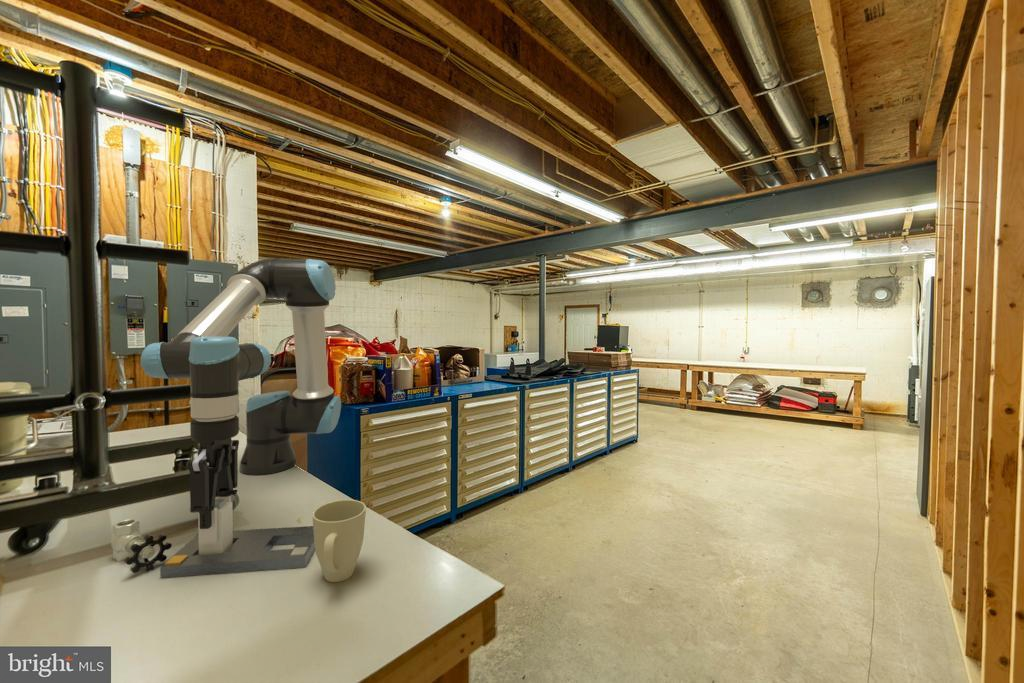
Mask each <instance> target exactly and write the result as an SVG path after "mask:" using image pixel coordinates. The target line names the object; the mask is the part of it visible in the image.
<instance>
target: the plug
mask: <svg viewBox="0 0 1024 683" xmlns="http://www.w3.org/2000/svg"><path fill="white" fill-rule="evenodd" d="M233 503H234V502H233V501H231V502H226V499H215V506H214V508H217V523H218V541H217V542H216V543H215V544H199V555H209V554H224V553H225V552H226V551H227V550H228V549H229V548H230V547H231V546H232V545H233V531H234V528H233V527H234V526H233V521H234V520H233V517H234V516H233V514H234V513H233V511H234V508H233V506H234V505H233ZM197 513H198V514H197V515H198V516H197V517H198V521H197V522H198V523H197V524H198V532H199V512H197Z"/></svg>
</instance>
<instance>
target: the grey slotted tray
mask: <svg viewBox="0 0 1024 683" xmlns="http://www.w3.org/2000/svg"><path fill="white" fill-rule="evenodd" d="M281 545H282V546H283V545H294V546H293V548H287V549H285V548H284V549H272V548H273V546H281ZM271 549H272V550H271ZM315 551H316V550H315V543H314V530H313V525H309V526H307V525H306V526H292V527H290V526H289V527H275V528H258V529H257V528H256V529H255V528H253V529H241V530H233V545H232V546H231V547H230V548H229V549H228V550H227V551H226V552H225V553H224V554H209V555H199V533H198V534H196V535H194V537H193V538H192V539H191V540H190V541H188V542H187V543H186V544H185V545H184V546H182V547H181V549H179V550H178V551H177V552H176V553H175V554H174V555H172V556H171V557H170V558H168V560H167V561H165V562H164V563H163V564H162V565H161V566H160V567H159V570H160V571H159V572H160V573H159V575H160V576H159V577H160V579H166V578H168V579H169V578H181V577H194V576H209V575H220V574H223V575H224V574H232V573H235V574H237V573H246V572H247V573H249V572H261V571H273V570H286V569H287V570H288V569H299V568H300V569H301V568H306V567H307V565H308V563H309V561H310V560H311V558H312V556H313V554H314V553H315Z"/></svg>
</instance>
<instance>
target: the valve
mask: <svg viewBox="0 0 1024 683" xmlns="http://www.w3.org/2000/svg"><path fill="white" fill-rule="evenodd" d="M112 534H113V536H112V537H111V540H110V541H111V542H110V546H111V548H112V549H113V550H112V558H113V559H114V560H115V561H117V562H119V561H123V563H125V564H126V565H127V566H129V565H133V564H134V566H131V567H130V572H132V573H133V574H137V573H139V572H140V571H141V568H143V569H144V571H146V572H148V573H149V572H151V571H153V570H154V568H155V565H154V564H155V563H157V562H160V563H163V562H164V563H165V562H166V560H167V557H168V556H167V555H165V554H164V553H165V551H166V550H167V551H168V550H170V549H171V548H172V547H173V545H172V543H171V542H165V541H166V540H167V535H165V534H164V533H160V534H159V535H158V536H157V537H158V538H157V539H154V536H153V535H152V534H146V535H145V536H142V533H141V530H140V520H139V519H138V518H134V517H133V518H126V519H123V520H120V521H117V522H116V523H114V524H113V525H112ZM164 542H165V544H164ZM157 545H158V547H159V549H158V553H157V555H156V556H155V557H154V558H152V557H153V556H154V555H155V554H156V549H155V548H154V547H155V546H157ZM139 557H141V558H142V559H143V562H141V561H139ZM150 558H152V559H151V560H149V559H150Z"/></svg>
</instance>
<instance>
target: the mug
mask: <svg viewBox="0 0 1024 683" xmlns="http://www.w3.org/2000/svg"><path fill="white" fill-rule="evenodd" d="M366 511H367V507H366V503H364V502H362V501H360V500H357V499H339V500H333V501H331V502H326V503H324V504H322V505H320V506H318V507H317V508H316V509H315V510H314V511H313V512H312V526H313V530H314V543H315V550H314V551H315V554H316V557H317V560H318V563H319V565H320V568H321V571H322V573H323V576H324V578H325V579H324V580H326V581H327V582H329V583H339V582H343V581H345V580H348V579H349V578H351V576H353V574H354V572H355V568H356V565H357V562H358V559H359V557H360V553H361V551H362V546H363V542H364V535H365V523H366Z"/></svg>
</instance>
